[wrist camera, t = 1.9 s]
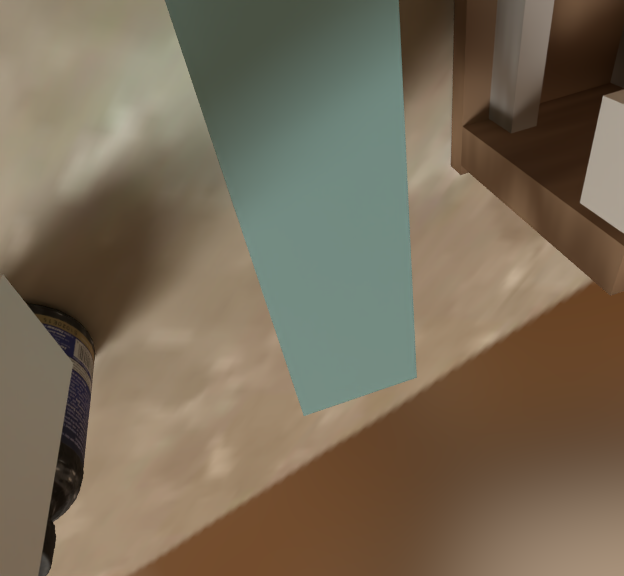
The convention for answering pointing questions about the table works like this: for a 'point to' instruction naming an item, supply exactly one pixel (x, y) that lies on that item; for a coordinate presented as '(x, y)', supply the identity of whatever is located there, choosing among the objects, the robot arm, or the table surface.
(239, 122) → the green rectangular box
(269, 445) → the table surface
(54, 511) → the pill bottle
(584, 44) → the wooden desk organizer
